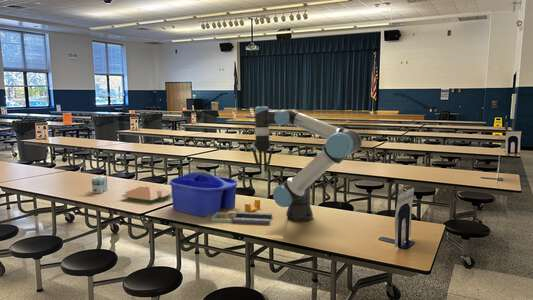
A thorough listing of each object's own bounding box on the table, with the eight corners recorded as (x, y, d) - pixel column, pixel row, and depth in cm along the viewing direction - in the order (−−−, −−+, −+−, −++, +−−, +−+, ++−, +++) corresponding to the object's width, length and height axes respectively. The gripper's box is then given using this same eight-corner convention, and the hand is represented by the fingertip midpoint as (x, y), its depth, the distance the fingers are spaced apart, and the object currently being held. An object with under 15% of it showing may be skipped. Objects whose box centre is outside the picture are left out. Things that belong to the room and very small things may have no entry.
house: (154, 205, 237) (153, 193, 236) (116, 199, 251) (115, 188, 250) (177, 197, 258) (176, 185, 257) (140, 191, 271) (140, 181, 270)
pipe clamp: (251, 215, 217) (250, 204, 216) (245, 214, 219) (244, 203, 218) (262, 210, 227) (262, 200, 226) (256, 209, 229) (256, 199, 228)
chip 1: (229, 219, 208) (229, 212, 208) (227, 221, 204) (227, 214, 204) (222, 218, 209) (222, 212, 208) (220, 221, 205) (220, 214, 204)
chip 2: (236, 217, 208) (236, 210, 207) (234, 220, 204) (234, 213, 203) (229, 217, 208) (229, 210, 207) (227, 219, 204) (227, 212, 204)
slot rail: (272, 219, 210) (272, 213, 209) (269, 227, 197) (269, 220, 196) (237, 217, 212) (237, 211, 212) (232, 225, 200) (232, 219, 199)
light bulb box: (101, 193, 266) (100, 178, 264) (92, 193, 266) (91, 178, 264) (108, 189, 276) (107, 175, 275) (99, 189, 276) (98, 175, 275)
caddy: (196, 197, 257) (195, 163, 254) (248, 207, 232) (247, 170, 229) (159, 208, 231) (158, 171, 228) (214, 221, 206) (213, 180, 203)
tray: (236, 217, 212) (236, 212, 212) (231, 224, 201) (231, 219, 200) (216, 216, 214) (216, 211, 213) (210, 223, 202) (210, 218, 202)
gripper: (274, 134, 208) (275, 175, 211) (251, 134, 209) (252, 175, 212) (273, 135, 200) (274, 178, 203) (249, 135, 202) (250, 178, 205)
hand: (263, 177), depth 208 cm, fingers closed
